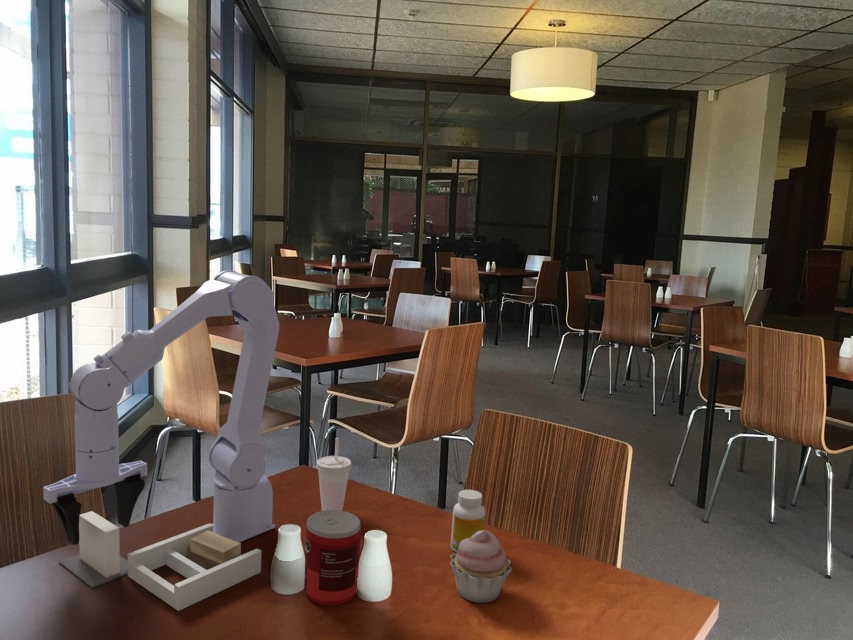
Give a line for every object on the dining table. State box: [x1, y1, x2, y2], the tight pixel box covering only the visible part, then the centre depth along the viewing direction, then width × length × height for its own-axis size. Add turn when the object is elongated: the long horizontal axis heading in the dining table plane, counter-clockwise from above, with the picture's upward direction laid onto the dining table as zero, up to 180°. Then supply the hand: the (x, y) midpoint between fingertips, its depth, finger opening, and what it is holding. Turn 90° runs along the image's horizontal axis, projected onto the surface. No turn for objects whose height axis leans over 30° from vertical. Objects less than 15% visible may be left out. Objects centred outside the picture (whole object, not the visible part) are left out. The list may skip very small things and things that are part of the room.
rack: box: [127, 522, 262, 612], centre depth 102 cm, size 14×13×4 cm
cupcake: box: [449, 529, 513, 604], centre depth 101 cm, size 9×9×10 cm
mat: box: [58, 553, 128, 589], centre depth 102 cm, size 7×10×1 cm
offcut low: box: [187, 547, 220, 570], centre depth 105 cm, size 4×9×2 cm, turn 52°
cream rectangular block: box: [78, 510, 121, 578], centre depth 102 cm, size 2×8×7 cm, turn 52°
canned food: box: [303, 510, 362, 607], centre depth 99 cm, size 8×8×11 cm
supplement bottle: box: [450, 489, 486, 554], centre depth 114 cm, size 5×5×10 cm
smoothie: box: [315, 437, 352, 511], centre depth 125 cm, size 6×6×14 cm
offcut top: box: [190, 531, 242, 564], centre depth 104 cm, size 4×7×2 cm, turn 61°
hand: (99, 533), depth 102 cm, fingers open, 7 cm apart
